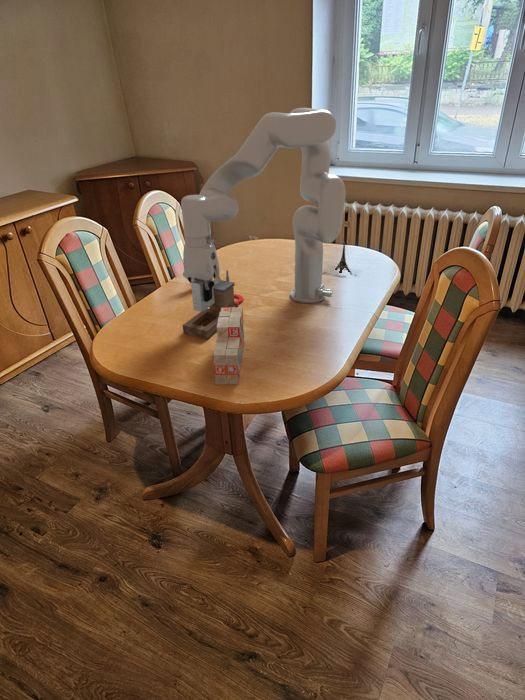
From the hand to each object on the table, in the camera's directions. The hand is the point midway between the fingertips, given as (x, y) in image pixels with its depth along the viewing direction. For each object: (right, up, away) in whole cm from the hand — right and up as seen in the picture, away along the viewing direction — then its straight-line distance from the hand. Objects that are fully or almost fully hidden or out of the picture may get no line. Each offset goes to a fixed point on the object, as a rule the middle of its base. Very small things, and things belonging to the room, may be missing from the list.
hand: (203, 298), depth 141 cm
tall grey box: (0, -2, +1) cm, 3 cm away
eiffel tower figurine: (+50, +15, +43) cm, 67 cm away
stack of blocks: (+9, -20, -12) cm, 25 cm away
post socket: (+2, -7, +8) cm, 11 cm away
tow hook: (+7, +1, +22) cm, 23 cm away
